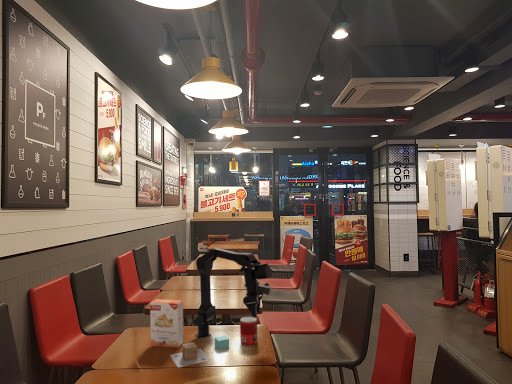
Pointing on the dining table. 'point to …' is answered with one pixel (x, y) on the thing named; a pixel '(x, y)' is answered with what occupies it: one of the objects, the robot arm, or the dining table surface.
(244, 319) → the canned food
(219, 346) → the teal cube
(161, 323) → the cracker box
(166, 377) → the dining table surface
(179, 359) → the plate
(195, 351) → the walnut cube
